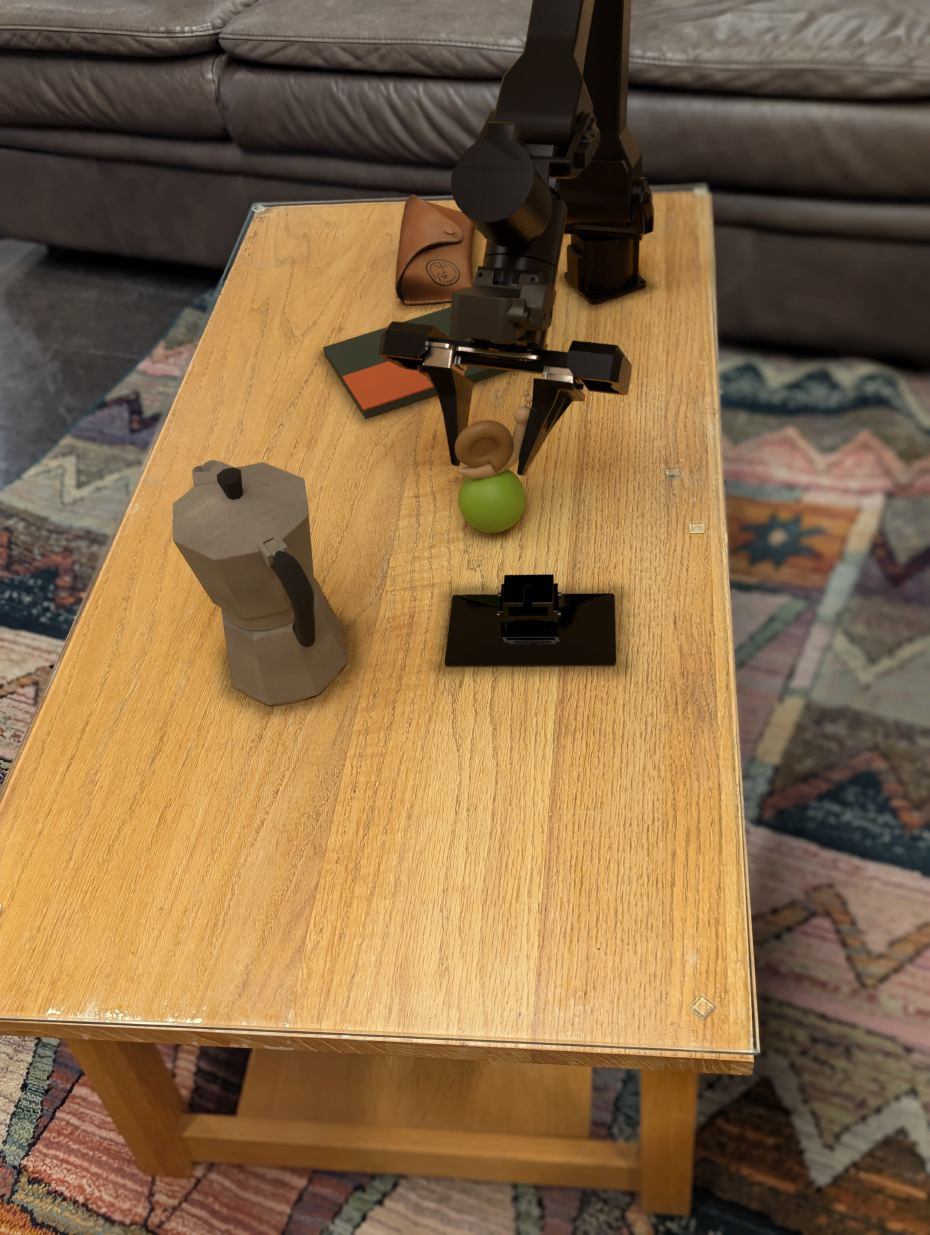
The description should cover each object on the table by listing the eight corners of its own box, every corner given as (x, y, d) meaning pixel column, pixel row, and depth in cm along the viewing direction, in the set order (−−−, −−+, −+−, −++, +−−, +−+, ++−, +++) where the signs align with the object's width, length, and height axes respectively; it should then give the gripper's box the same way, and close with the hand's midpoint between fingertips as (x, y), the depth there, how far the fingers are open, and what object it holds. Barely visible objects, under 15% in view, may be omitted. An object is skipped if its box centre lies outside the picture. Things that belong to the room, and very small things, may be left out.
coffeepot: (196, 635, 83) (120, 451, 70) (304, 581, 86) (250, 395, 73) (285, 768, 74) (217, 585, 61) (402, 702, 77) (362, 514, 64)
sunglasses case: (478, 295, 112) (439, 247, 108) (424, 330, 115) (385, 284, 111) (477, 212, 124) (442, 166, 120) (429, 246, 127) (393, 201, 123)
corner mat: (470, 309, 111) (469, 299, 110) (520, 366, 103) (520, 356, 102) (324, 355, 108) (322, 345, 107) (365, 419, 100) (363, 408, 99)
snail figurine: (547, 533, 87) (542, 413, 78) (471, 553, 86) (458, 434, 78) (526, 492, 91) (519, 372, 82) (453, 511, 90) (438, 392, 81)
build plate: (444, 668, 79) (436, 625, 75) (453, 596, 84) (446, 553, 80) (616, 667, 77) (616, 623, 74) (614, 593, 82) (614, 549, 79)
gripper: (367, 222, 77) (334, 441, 78) (626, 243, 71) (587, 477, 73) (419, 267, 87) (389, 458, 88) (647, 287, 82) (612, 491, 83)
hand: (487, 470), depth 83 cm, fingers closed on snail figurine, 5 cm apart
